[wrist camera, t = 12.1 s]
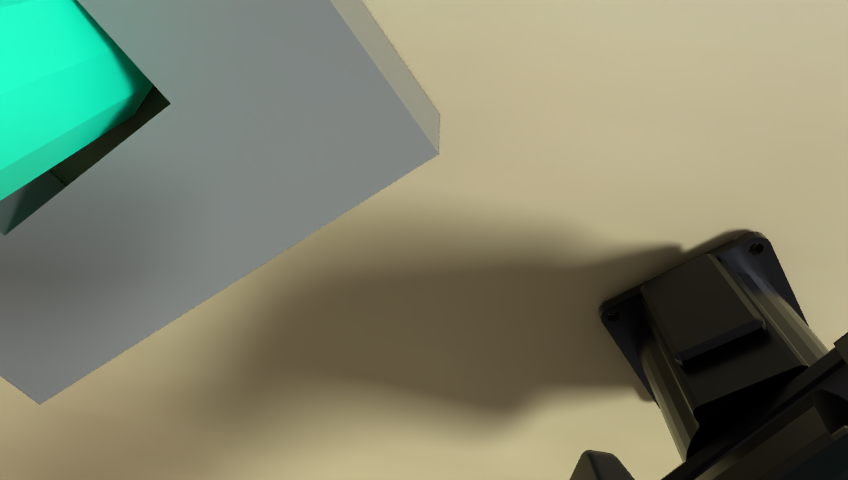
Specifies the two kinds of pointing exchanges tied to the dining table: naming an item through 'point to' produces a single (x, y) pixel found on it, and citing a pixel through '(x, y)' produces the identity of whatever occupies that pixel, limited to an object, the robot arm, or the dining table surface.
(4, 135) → the candle
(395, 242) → the dining table surface
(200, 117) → the socket block
